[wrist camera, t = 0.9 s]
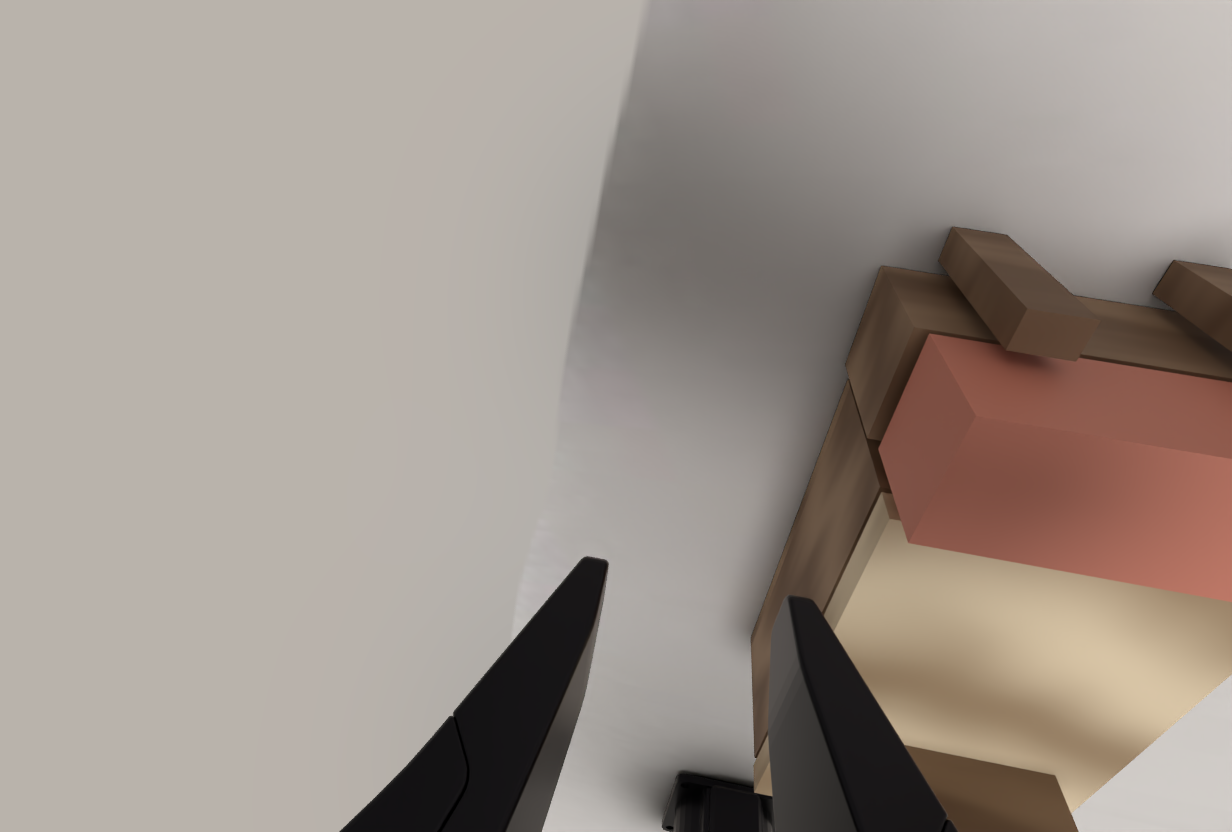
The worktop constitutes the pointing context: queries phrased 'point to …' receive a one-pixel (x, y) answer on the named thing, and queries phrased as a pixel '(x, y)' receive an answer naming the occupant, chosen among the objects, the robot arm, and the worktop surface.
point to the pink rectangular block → (1066, 465)
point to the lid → (1017, 672)
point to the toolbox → (980, 311)
